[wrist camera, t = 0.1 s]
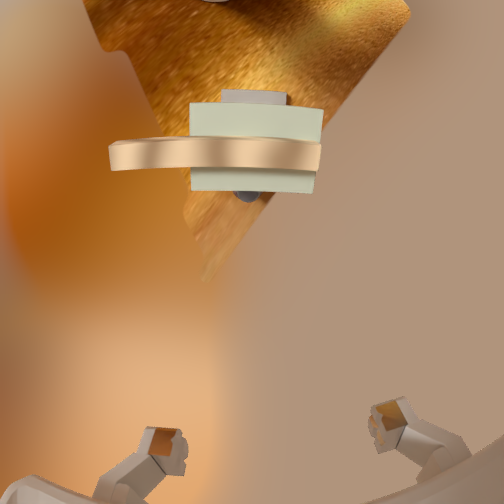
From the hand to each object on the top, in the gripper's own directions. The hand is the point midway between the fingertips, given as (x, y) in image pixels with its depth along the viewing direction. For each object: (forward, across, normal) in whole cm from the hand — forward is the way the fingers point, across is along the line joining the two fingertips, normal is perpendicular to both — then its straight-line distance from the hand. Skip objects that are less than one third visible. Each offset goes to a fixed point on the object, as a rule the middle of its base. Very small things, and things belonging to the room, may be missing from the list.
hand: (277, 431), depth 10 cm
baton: (+23, +3, -13) cm, 27 cm away
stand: (+48, -2, -21) cm, 52 cm away
